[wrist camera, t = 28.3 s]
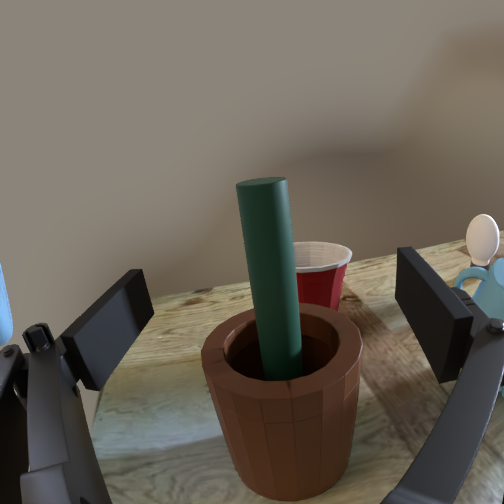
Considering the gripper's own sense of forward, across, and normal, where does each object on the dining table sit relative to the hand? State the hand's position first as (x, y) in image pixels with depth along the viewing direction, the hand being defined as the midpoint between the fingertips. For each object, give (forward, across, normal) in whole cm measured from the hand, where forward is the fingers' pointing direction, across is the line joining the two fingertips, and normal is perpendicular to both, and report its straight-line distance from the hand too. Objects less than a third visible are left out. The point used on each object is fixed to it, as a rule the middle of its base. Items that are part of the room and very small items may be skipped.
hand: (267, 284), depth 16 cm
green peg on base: (+2, 0, -17) cm, 17 cm away
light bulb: (+34, +35, -18) cm, 52 cm away
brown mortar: (+2, 0, -18) cm, 18 cm away
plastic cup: (+21, +2, -18) cm, 28 cm away
